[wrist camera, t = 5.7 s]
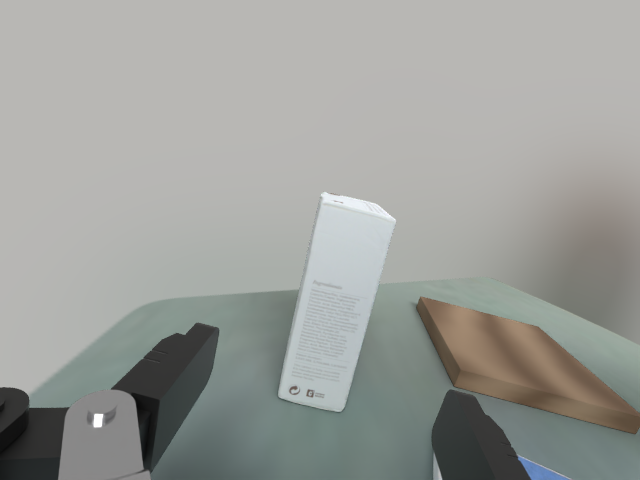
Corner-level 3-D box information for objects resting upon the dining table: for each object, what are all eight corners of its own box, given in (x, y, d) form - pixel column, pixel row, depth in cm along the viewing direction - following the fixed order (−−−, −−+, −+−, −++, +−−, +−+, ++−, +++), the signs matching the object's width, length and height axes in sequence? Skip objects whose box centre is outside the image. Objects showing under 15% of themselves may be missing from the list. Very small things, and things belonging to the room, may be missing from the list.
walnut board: (533, 338, 38) (538, 326, 38) (635, 434, 25) (644, 417, 24) (416, 307, 39) (420, 296, 38) (454, 386, 25) (460, 369, 25)
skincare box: (345, 416, 19) (406, 220, 17) (271, 400, 19) (320, 199, 16) (340, 355, 25) (384, 203, 23) (283, 342, 25) (321, 188, 22)
